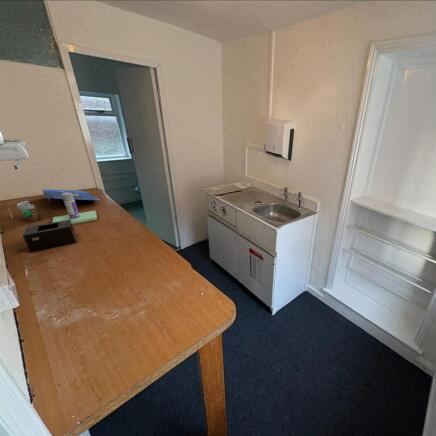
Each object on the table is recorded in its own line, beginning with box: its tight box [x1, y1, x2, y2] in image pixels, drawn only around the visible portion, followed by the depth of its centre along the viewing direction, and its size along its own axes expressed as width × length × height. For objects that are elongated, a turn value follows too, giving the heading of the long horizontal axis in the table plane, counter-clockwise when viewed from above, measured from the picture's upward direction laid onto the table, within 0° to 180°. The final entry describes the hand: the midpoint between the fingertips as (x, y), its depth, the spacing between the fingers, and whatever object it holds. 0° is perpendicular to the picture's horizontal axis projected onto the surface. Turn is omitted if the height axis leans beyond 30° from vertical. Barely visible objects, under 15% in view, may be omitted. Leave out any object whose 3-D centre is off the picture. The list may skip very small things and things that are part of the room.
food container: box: [16, 200, 40, 222], centre depth 138 cm, size 12×6×10 cm, turn 55°
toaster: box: [22, 220, 77, 253], centre depth 114 cm, size 16×12×9 cm
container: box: [62, 193, 80, 219], centre depth 138 cm, size 5×5×15 cm
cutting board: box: [51, 210, 98, 225], centre depth 142 cm, size 20×14×2 cm
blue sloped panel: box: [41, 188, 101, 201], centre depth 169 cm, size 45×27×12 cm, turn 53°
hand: (3, 170), depth 111 cm, fingers open, 8 cm apart
